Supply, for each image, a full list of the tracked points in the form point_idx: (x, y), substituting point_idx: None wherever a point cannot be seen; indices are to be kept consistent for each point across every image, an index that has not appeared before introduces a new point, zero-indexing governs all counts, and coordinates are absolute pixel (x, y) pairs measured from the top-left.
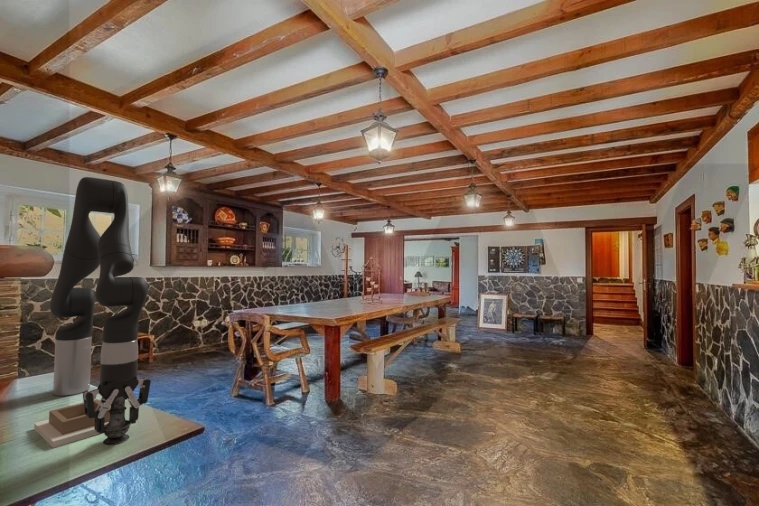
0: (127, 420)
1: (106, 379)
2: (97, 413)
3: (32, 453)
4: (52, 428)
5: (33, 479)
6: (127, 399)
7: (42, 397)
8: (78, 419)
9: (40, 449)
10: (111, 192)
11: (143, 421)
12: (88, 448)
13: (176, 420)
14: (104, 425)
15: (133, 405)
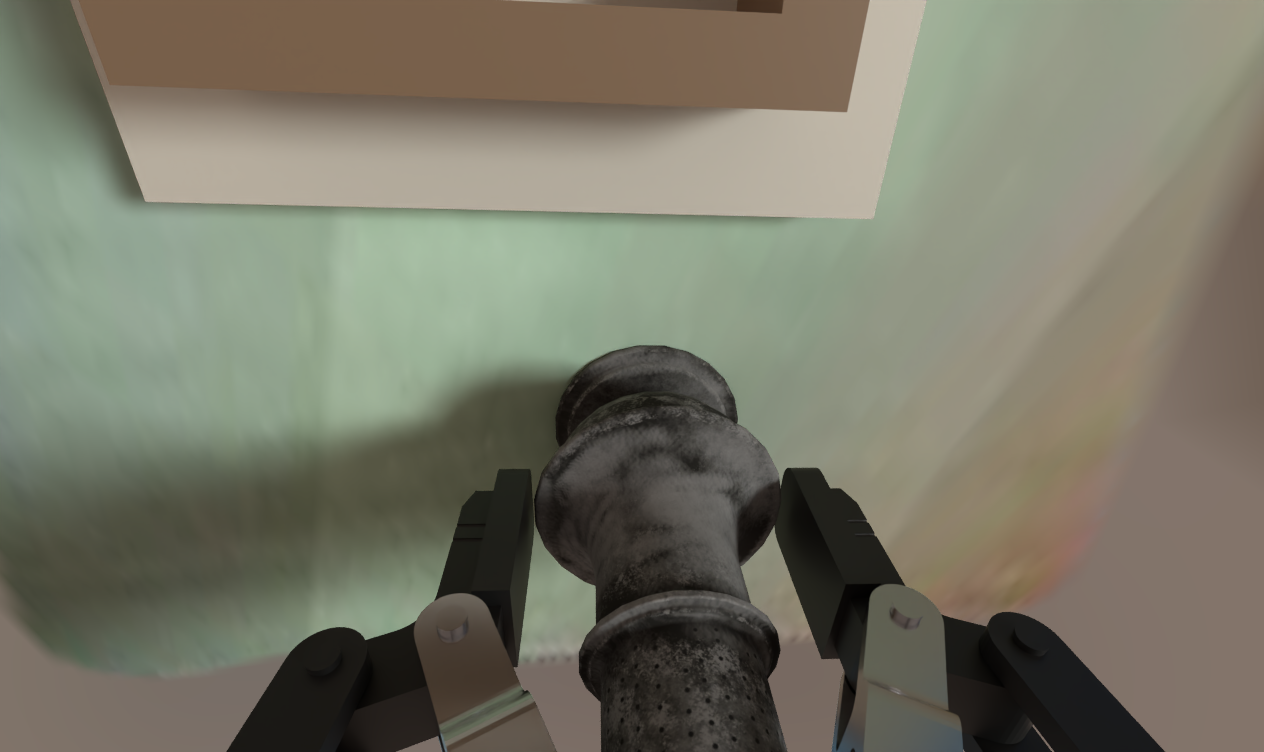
0: (768, 494)
1: None
2: (426, 729)
3: (17, 156)
4: None
5: (125, 571)
6: (854, 713)
7: None
8: (350, 93)
9: (77, 115)
10: None
11: (994, 235)
12: (451, 418)
13: (1105, 430)
14: (573, 453)
15: (836, 712)
